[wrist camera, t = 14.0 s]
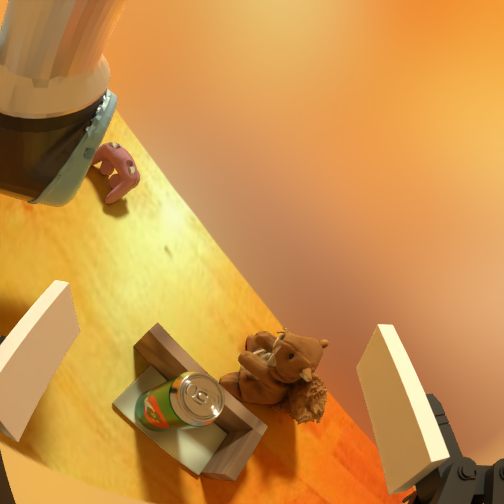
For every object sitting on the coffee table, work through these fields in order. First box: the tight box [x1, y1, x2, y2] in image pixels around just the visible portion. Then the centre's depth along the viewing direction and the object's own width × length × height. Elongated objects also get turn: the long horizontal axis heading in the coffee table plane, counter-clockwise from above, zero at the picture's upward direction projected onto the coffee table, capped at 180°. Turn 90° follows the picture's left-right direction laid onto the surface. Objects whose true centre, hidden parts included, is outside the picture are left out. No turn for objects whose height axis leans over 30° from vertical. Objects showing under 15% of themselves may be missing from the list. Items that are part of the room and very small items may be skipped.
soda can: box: [135, 371, 225, 432], centre depth 27 cm, size 5×5×12 cm
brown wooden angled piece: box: [112, 323, 268, 481], centre depth 30 cm, size 18×9×6 cm, turn 58°
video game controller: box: [90, 142, 140, 204], centre depth 43 cm, size 10×5×7 cm, turn 53°
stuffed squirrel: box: [220, 328, 329, 425], centre depth 38 cm, size 10×14×13 cm
